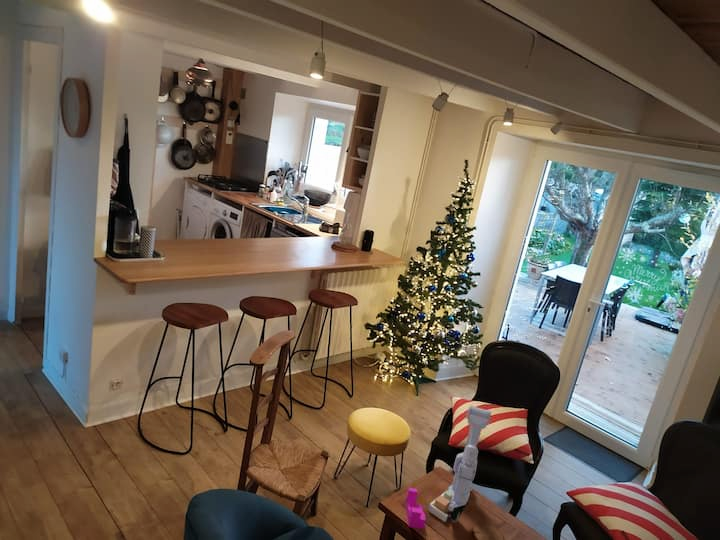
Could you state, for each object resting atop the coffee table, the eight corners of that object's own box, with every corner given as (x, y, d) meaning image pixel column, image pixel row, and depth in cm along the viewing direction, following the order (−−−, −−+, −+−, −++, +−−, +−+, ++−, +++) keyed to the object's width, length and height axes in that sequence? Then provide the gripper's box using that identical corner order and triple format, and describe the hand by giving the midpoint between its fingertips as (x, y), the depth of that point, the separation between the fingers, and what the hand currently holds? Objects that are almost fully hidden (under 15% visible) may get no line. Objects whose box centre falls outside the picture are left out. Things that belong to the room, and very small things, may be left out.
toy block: (423, 529, 217) (427, 513, 215) (408, 527, 217) (412, 511, 215) (419, 504, 232) (422, 489, 230) (405, 502, 231) (408, 487, 230)
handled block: (438, 505, 233) (441, 494, 231) (459, 519, 226) (462, 508, 225) (432, 510, 229) (435, 498, 228) (454, 524, 223) (457, 512, 221)
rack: (445, 495, 240) (447, 489, 240) (463, 506, 235) (464, 500, 234) (427, 510, 229) (428, 504, 228) (445, 522, 223) (446, 516, 223)
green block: (446, 499, 238) (449, 488, 237) (455, 505, 235) (458, 495, 234) (441, 503, 235) (444, 492, 234) (451, 509, 232) (454, 498, 231)
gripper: (462, 478, 229) (455, 504, 233) (445, 491, 218) (438, 519, 222) (476, 487, 225) (469, 513, 229) (459, 501, 214) (452, 529, 218)
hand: (455, 517), depth 225 cm, fingers closed on handled block, 3 cm apart
